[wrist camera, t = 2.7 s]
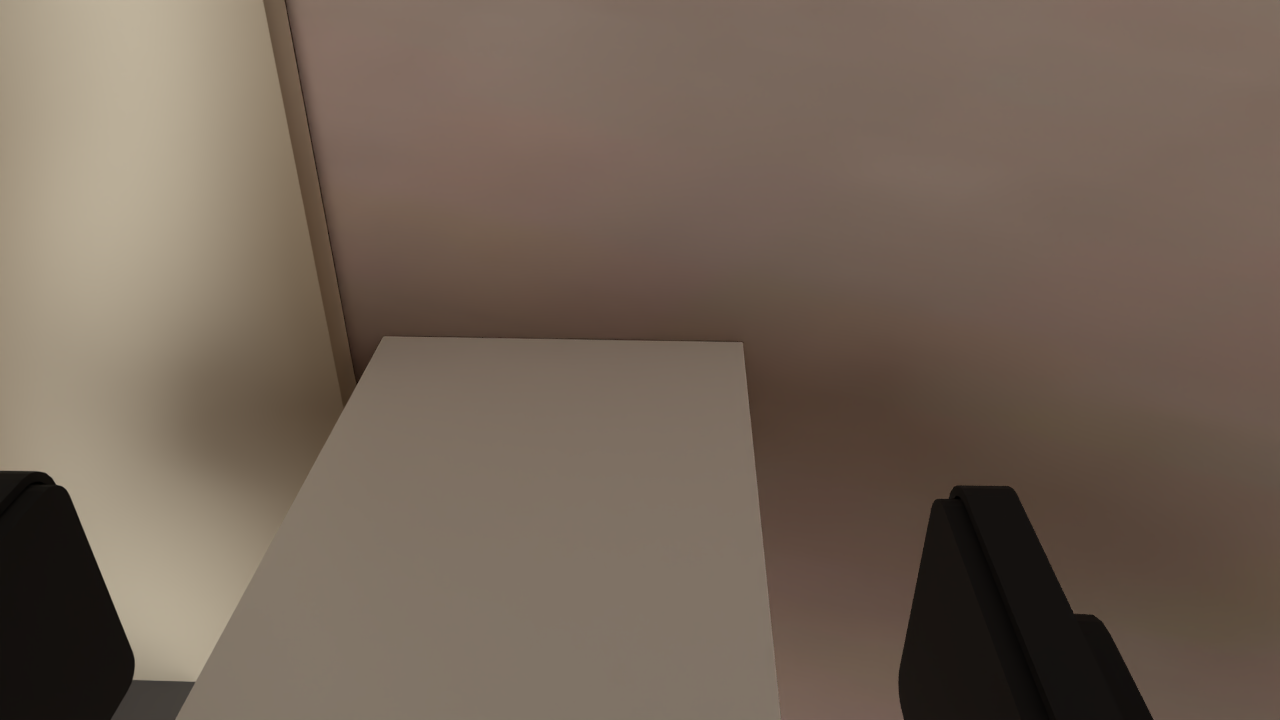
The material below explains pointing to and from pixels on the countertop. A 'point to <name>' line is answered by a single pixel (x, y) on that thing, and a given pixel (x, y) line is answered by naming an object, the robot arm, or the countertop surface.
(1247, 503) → the countertop surface
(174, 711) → the domino
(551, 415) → the domino
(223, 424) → the board
